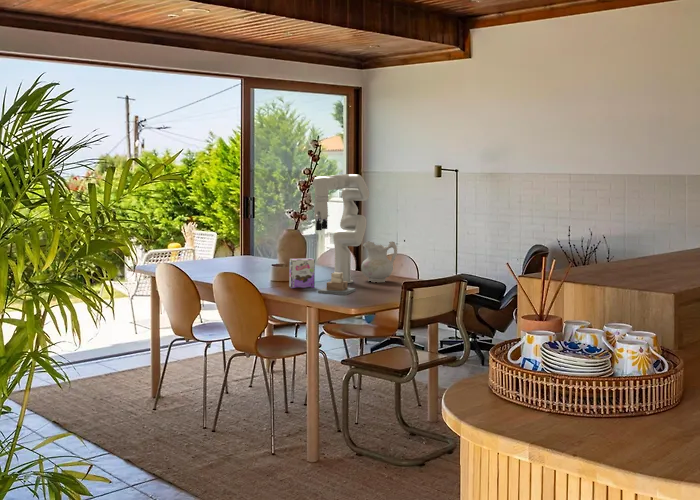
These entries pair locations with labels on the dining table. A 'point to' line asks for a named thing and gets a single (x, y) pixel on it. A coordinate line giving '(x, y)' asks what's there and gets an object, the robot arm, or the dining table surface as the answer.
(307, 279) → the candy box
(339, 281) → the maple cube
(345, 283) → the grey brown stepped pedestal
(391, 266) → the ceramic pitcher
